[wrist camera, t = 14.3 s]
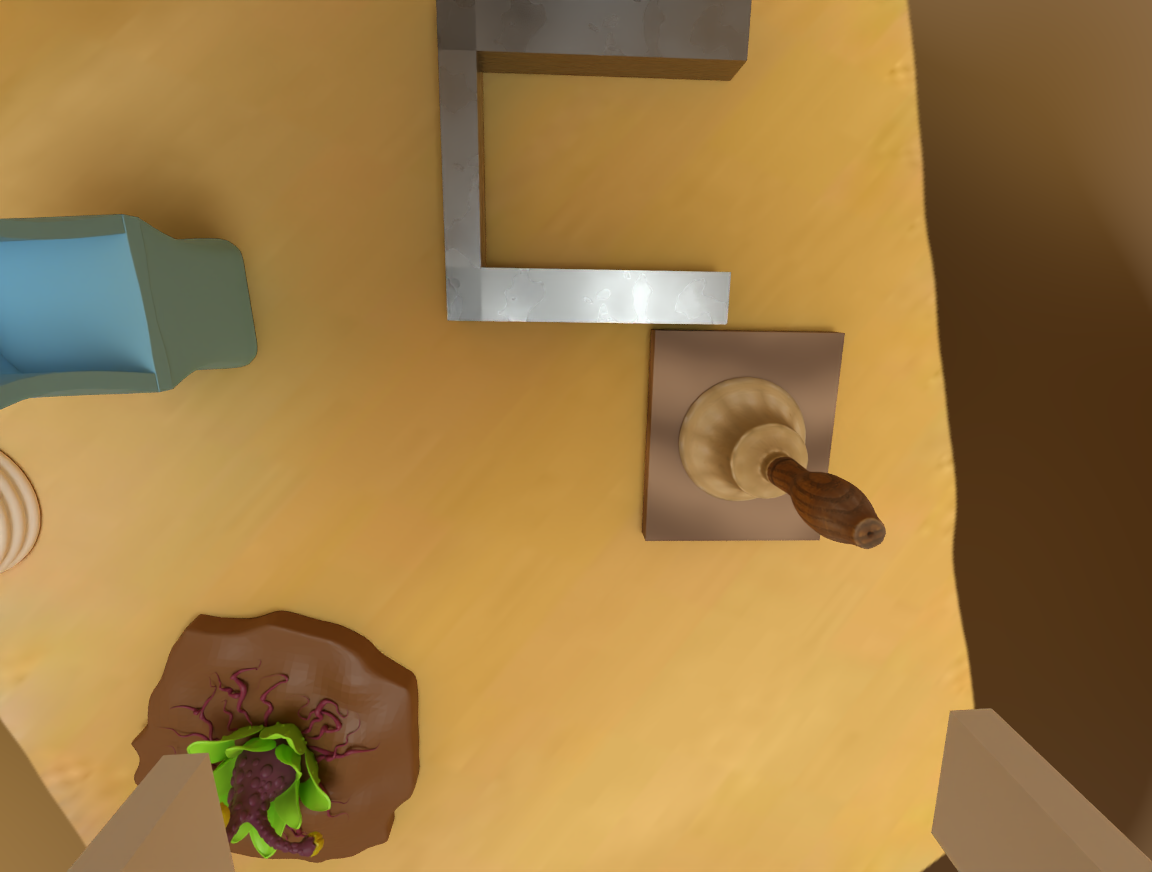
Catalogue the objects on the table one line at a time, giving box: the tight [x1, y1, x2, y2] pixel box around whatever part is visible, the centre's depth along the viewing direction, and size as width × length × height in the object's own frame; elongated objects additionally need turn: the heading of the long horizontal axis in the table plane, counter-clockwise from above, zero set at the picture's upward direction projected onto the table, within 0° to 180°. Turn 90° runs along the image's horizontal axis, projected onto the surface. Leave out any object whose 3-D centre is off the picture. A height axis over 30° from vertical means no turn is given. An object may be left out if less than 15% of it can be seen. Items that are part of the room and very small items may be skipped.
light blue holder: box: [0, 214, 257, 409], centre depth 26 cm, size 8×8×20 cm
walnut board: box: [642, 329, 845, 541], centre depth 39 cm, size 14×12×2 cm
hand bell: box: [679, 377, 886, 549], centre depth 30 cm, size 8×8×16 cm
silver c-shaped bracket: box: [436, 0, 751, 324], centre depth 34 cm, size 17×16×3 cm
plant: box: [132, 611, 419, 863], centre depth 38 cm, size 20×20×11 cm
